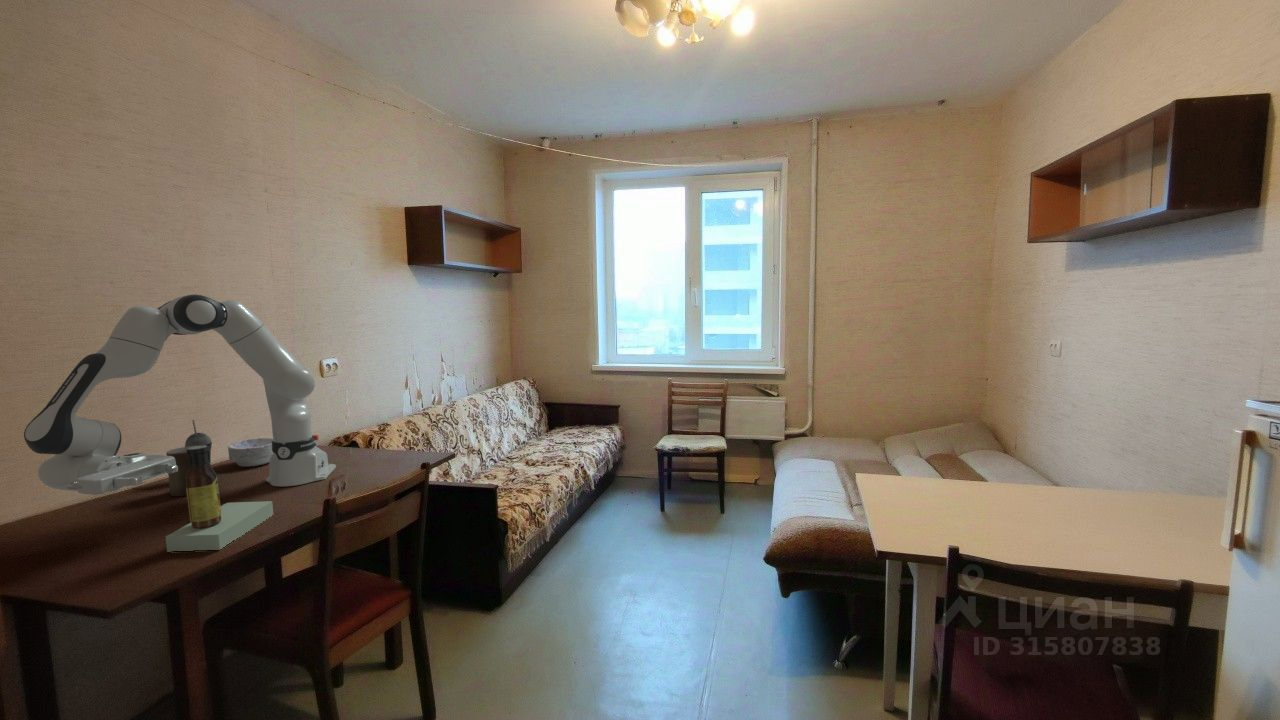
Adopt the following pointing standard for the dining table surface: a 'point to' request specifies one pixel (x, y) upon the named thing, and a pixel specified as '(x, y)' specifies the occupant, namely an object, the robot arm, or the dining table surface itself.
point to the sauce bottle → (202, 489)
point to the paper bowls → (251, 452)
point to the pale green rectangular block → (221, 527)
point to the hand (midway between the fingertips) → (157, 475)
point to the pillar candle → (179, 471)
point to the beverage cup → (199, 441)
